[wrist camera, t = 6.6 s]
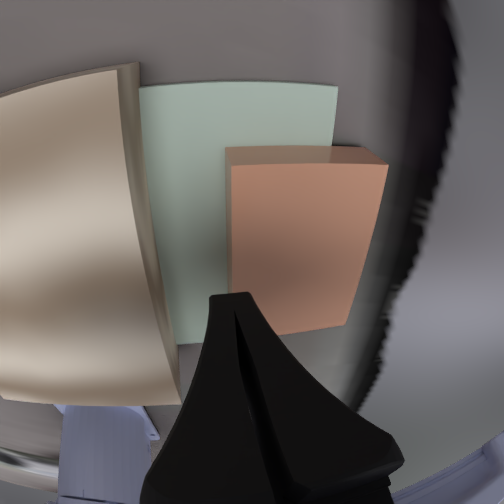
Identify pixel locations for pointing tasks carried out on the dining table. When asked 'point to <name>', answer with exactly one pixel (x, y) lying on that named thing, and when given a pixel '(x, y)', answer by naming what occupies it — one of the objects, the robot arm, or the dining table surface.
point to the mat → (213, 173)
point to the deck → (80, 248)
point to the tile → (300, 229)
